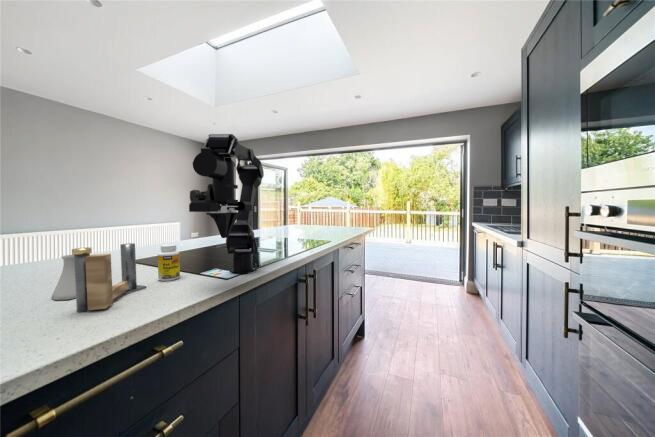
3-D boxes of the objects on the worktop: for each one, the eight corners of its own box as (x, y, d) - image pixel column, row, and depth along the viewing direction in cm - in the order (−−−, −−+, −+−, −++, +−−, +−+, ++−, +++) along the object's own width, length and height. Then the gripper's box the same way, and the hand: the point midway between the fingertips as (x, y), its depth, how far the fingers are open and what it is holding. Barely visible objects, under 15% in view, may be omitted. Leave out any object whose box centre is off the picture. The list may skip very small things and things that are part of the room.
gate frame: (132, 286, 70) (130, 238, 70) (155, 288, 68) (153, 239, 67) (54, 309, 55) (51, 248, 54) (81, 313, 52) (77, 250, 52)
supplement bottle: (160, 282, 73) (159, 247, 73) (156, 278, 77) (155, 245, 77) (182, 278, 77) (181, 245, 77) (177, 275, 81) (176, 243, 81)
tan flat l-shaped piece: (117, 291, 64) (115, 247, 64) (131, 290, 65) (130, 247, 65) (87, 310, 53) (85, 256, 52) (105, 308, 54) (102, 256, 53)
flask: (67, 302, 59) (64, 258, 58) (43, 300, 60) (40, 257, 60) (100, 291, 66) (99, 253, 65) (78, 290, 67) (76, 252, 67)
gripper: (221, 184, 82) (222, 233, 82) (170, 178, 64) (172, 241, 64) (252, 183, 78) (253, 234, 79) (207, 176, 60) (209, 242, 61)
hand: (224, 237), depth 71 cm, fingers closed
